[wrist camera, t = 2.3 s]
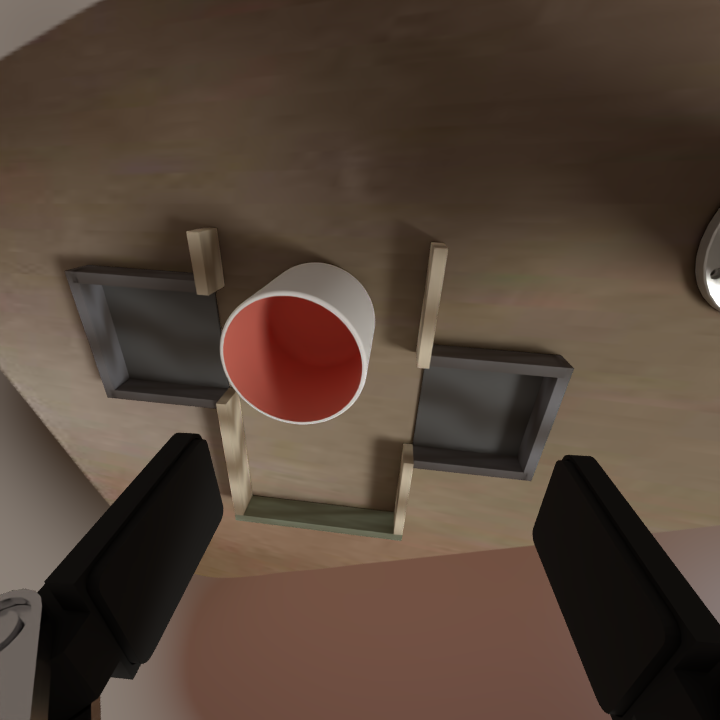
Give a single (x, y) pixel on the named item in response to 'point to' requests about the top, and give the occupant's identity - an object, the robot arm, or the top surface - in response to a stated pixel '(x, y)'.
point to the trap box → (211, 390)
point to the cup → (301, 344)
